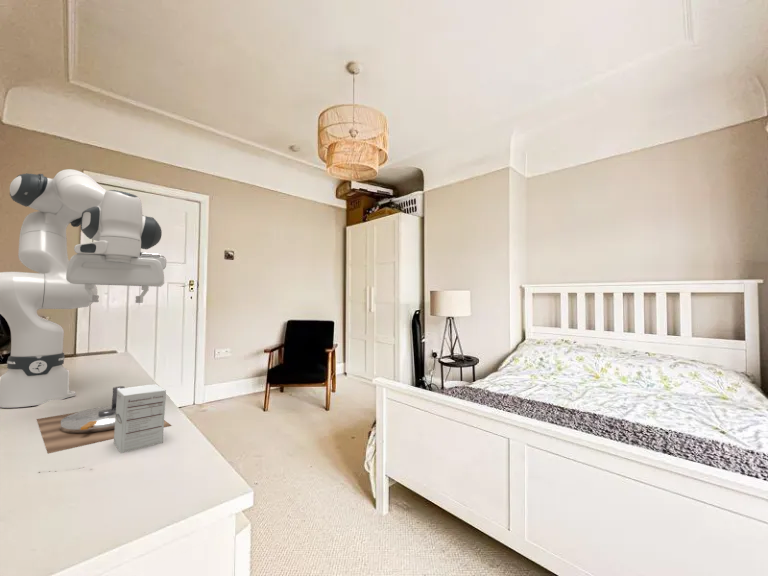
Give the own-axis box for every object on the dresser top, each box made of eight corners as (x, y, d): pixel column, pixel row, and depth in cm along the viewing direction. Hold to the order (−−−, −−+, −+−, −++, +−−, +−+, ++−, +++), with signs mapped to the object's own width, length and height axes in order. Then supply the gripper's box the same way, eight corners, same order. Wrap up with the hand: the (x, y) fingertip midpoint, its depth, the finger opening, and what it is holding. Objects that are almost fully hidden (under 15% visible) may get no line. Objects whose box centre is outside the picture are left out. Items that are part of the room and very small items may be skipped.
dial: (128, 432, 74) (130, 403, 74) (35, 440, 69) (38, 408, 69) (154, 408, 91) (156, 384, 92) (82, 413, 86) (84, 387, 87)
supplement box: (112, 449, 69) (116, 388, 70) (154, 440, 75) (157, 383, 76) (118, 461, 64) (123, 395, 65) (163, 450, 70) (167, 389, 71)
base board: (35, 425, 82) (36, 418, 82) (138, 407, 98) (139, 401, 98) (47, 461, 64) (47, 452, 64) (171, 431, 80) (171, 424, 80)
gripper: (167, 255, 97) (165, 303, 96) (74, 249, 87) (70, 302, 86) (165, 252, 91) (163, 302, 90) (65, 244, 81) (61, 301, 80)
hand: (117, 302), depth 88 cm, fingers open, 8 cm apart
